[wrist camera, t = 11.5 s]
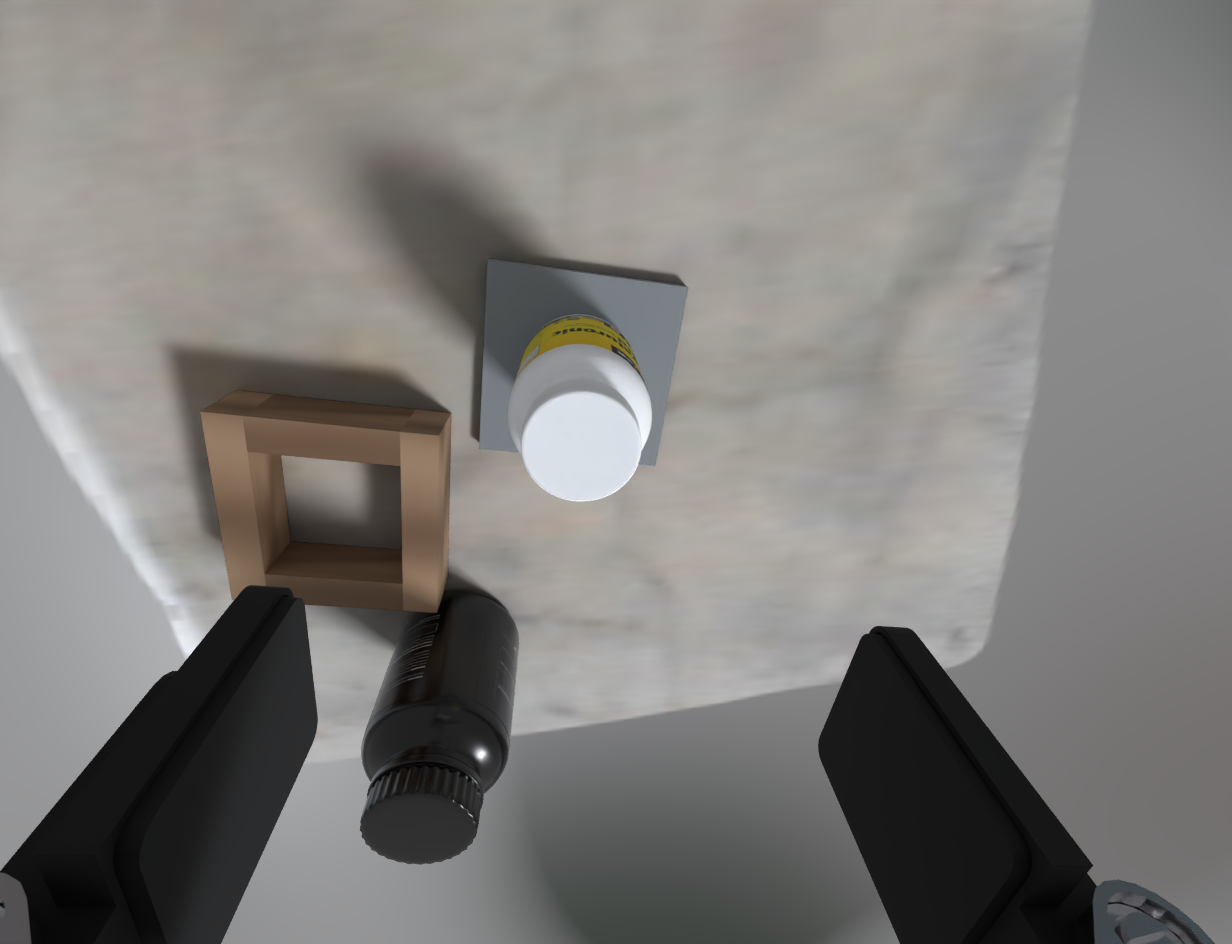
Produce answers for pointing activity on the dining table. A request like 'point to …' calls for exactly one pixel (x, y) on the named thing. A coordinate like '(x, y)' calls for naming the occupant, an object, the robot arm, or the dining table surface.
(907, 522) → the dining table surface
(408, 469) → the walnut collar
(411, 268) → the dining table surface
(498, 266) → the slate mat
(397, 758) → the supplement bottle
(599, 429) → the supplement bottle
